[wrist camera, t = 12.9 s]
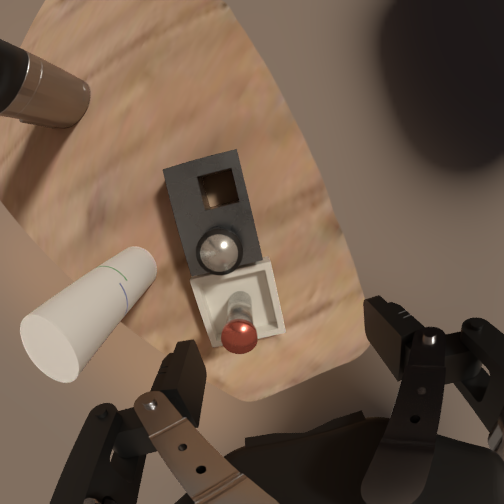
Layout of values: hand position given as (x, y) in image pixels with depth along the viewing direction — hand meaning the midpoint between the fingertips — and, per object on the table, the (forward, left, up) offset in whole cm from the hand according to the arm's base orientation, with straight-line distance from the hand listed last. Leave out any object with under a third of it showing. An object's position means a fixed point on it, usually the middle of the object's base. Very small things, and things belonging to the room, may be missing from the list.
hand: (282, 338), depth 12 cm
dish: (-5, -11, -30) cm, 32 cm away
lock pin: (-5, -10, -29) cm, 31 cm away
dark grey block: (-5, +4, -30) cm, 31 cm away
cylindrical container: (-20, -2, -30) cm, 36 cm away
